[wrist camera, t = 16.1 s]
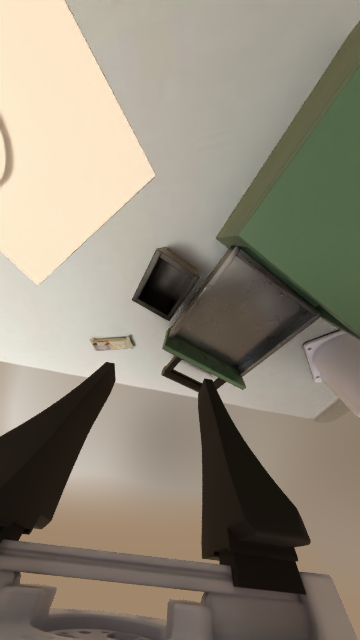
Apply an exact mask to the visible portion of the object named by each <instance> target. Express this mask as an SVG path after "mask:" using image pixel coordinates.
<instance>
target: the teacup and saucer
mask: <svg viewBox="0 0 360 640" xmlns="http://www.w3.org/2000/svg"><path fill="white" fill-rule="evenodd" d="M6 168H7V149H6V143H5V139H4V135H3V132H2V129H1V128H0V181H1V180H2V179H3V177H4V175H5V172H6Z"/></svg>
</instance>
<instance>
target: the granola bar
mask: <svg viewBox="0 0 360 640" xmlns="http://www.w3.org/2000/svg"><path fill="white" fill-rule="evenodd" d="M89 340H90V341H91V343H92V345H93V347H94V349H95V350H97V351H102V350H118V349H127V348H131V349H134V348H133V345H132V343H131V341H130V338H129V337H127V338H110V339H98V340H92V339H89Z"/></svg>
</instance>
